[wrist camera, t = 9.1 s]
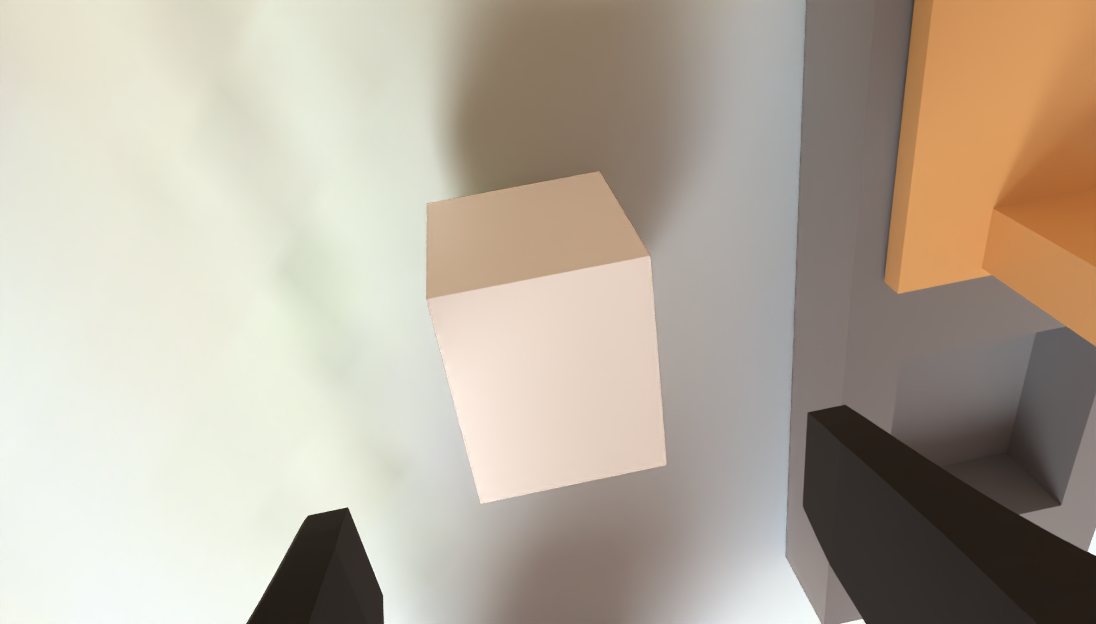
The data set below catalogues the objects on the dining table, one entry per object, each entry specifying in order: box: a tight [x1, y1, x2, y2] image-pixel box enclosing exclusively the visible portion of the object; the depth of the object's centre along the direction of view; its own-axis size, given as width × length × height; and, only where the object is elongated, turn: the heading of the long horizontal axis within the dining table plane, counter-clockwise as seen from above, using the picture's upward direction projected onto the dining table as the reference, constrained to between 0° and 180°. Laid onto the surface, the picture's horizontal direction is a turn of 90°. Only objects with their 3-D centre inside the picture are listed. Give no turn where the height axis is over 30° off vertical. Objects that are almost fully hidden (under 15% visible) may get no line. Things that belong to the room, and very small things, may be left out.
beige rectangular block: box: [426, 171, 667, 504], centre depth 17 cm, size 5×4×6 cm
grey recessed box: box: [786, 0, 1096, 624], centre depth 21 cm, size 20×9×3 cm, turn 8°
